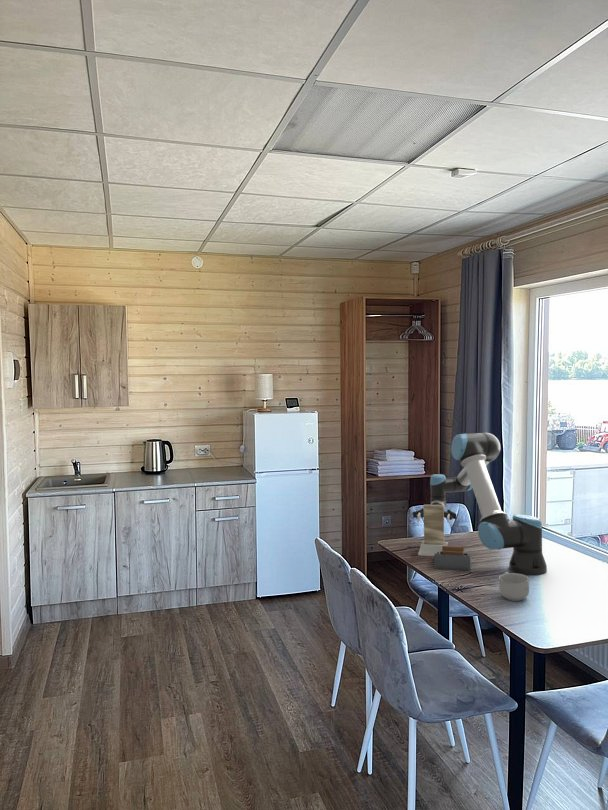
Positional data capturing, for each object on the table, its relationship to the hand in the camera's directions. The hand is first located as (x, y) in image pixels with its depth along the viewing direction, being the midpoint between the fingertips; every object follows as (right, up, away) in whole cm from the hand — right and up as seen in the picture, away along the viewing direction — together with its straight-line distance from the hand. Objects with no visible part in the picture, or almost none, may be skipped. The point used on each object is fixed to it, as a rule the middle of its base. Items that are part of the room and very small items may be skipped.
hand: (433, 519), depth 279 cm
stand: (+1, -18, +4) cm, 18 cm away
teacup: (+20, -20, -50) cm, 57 cm away
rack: (+6, -19, -15) cm, 24 cm away
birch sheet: (+1, -16, +4) cm, 16 cm away
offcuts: (+5, -17, -16) cm, 24 cm away
